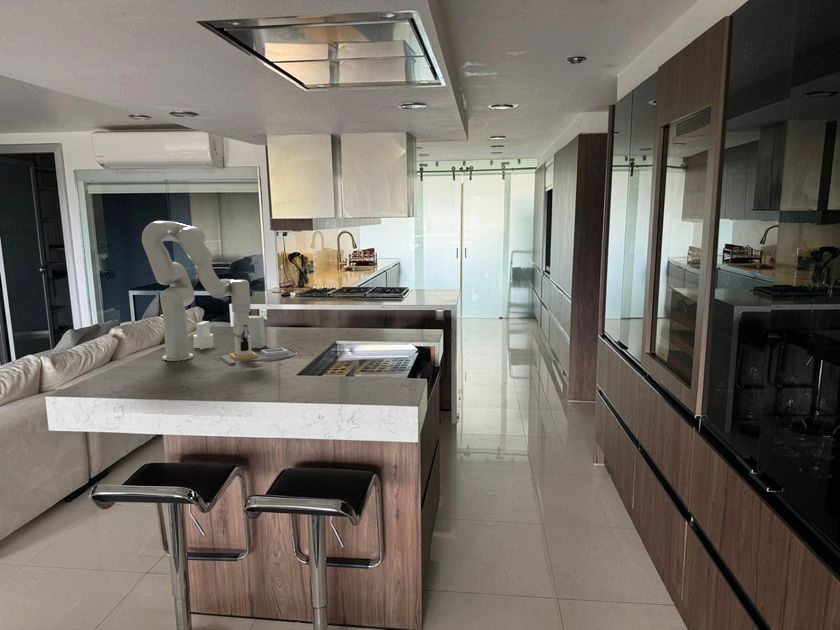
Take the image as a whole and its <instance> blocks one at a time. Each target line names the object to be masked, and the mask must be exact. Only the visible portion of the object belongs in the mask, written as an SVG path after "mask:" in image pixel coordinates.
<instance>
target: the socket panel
mask: <svg viewBox="0 0 840 630" xmlns="http://www.w3.org/2000/svg"><path fill="white" fill-rule="evenodd" d="M251 351H252V350H251ZM293 356H298V353H295V352H293V351H291V350H289V349H287V348H284V347H276V348H266V349H260V351H252V354H251V355H242V356H237V355H236V354H235V352H232V353H231V352H229V354H226V355H225V354H224V355H220V357H219V358H220V359H221V361H223V360H224V363H226V364H227V363H228V364H229V366H234V365H235V364H237V363H242V362H243V363H244V362H250V361H259V360H266V359H267V360H268V359H275V358H276V359H277V358H285V357H293ZM228 364H227V365H228Z"/></svg>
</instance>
